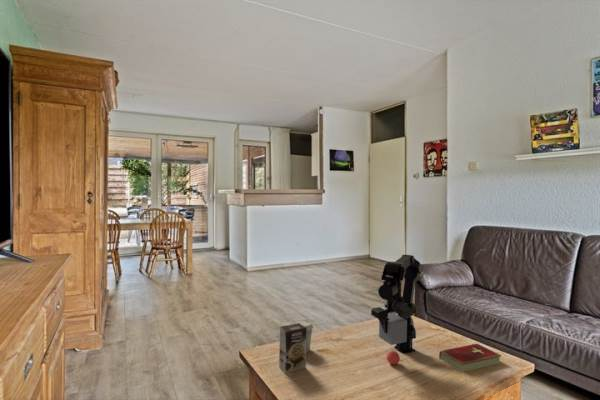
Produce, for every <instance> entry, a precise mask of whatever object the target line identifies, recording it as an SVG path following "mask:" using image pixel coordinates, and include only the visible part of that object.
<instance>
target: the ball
mask: <svg viewBox="0 0 600 400" xmlns="http://www.w3.org/2000/svg"><path fill="white" fill-rule="evenodd" d="M386 360H387V362H388V363H389V364H391V365H398V363H399V362H400V360H401V359H400V355H399V353H398V352H397V351H394V350H390V351H389V352H388V353H387V354H386Z"/></svg>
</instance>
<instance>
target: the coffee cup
mask: <svg viewBox="0 0 600 400" xmlns="http://www.w3.org/2000/svg"><path fill="white" fill-rule="evenodd" d="M297 323H300V324H301V325H303V326H305V327H306V328H307V333H306V354H307V353H309V352H310V349H311V341H312V336H313V335H312V334H313V333H312V332H313V328H314V325H313V323H312V321H310V320H309V319H299V320H296V321H295V322H294V324H297Z"/></svg>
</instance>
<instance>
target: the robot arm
mask: <svg viewBox="0 0 600 400" xmlns="http://www.w3.org/2000/svg"><path fill="white" fill-rule="evenodd" d="M422 272H423V266H422V265H421V262H420V261H419V260H417V259H416V257H415V256H414V255H411V254H402V255H401V257H399V258H398V259H396V260H395V261H387V262H386V263H385V265H384V266H383V271H382V275H381V281H383V283H382V285H380V286H379V288H378V290H377V291H378V295H379V297H380V298H381V299H382V300H384V301H386V304H384V308H382V307H380V306H378V307H373V308H372V309H371V311H370V313H371V314H370V315H371V316H373V317H374V318H376V319H377V320H378V322H379V321H380V323H381V326H382V328H383V331H384V333H386V334H387V322H388V320H389V318H387V317H388V315H389V314H397V315H398V316H400V317H401V318H404V319H406V320H407V342H403V343H398V344H395V345H394V346H393V348H395V349H396V350H398V351H400V352H401V353H402V354H407V353H411V352H412V353H413V352H415V351H416V349H415V348H413V340H414V339H416V338H417V330H416V327H415V326H414V319H413V317H412V316H413V315H414V314H417V307H416V305H415V303H413V301H414V293H415V288H416V287H415V285H416V283H417V282H418V281H419V280H420V278H421V277H420V276H421V274H422ZM403 281H404V284H403V283H402V282H403ZM402 284H403V290H402ZM385 308H386V309H385Z"/></svg>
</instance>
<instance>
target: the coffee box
mask: <svg viewBox="0 0 600 400" xmlns="http://www.w3.org/2000/svg"><path fill="white" fill-rule="evenodd" d="M306 333H307V328H306V327H305V326H303V325H301V324H300V323H297V324H295V323H293V324H287V325H283V326H279V357H278V358H279V360H278V361H279V362H278V367H279V368H280V369H281V370H282V372H284V374H289V373H293V372H298V371H300V370H304V369H307V353H306Z"/></svg>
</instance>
